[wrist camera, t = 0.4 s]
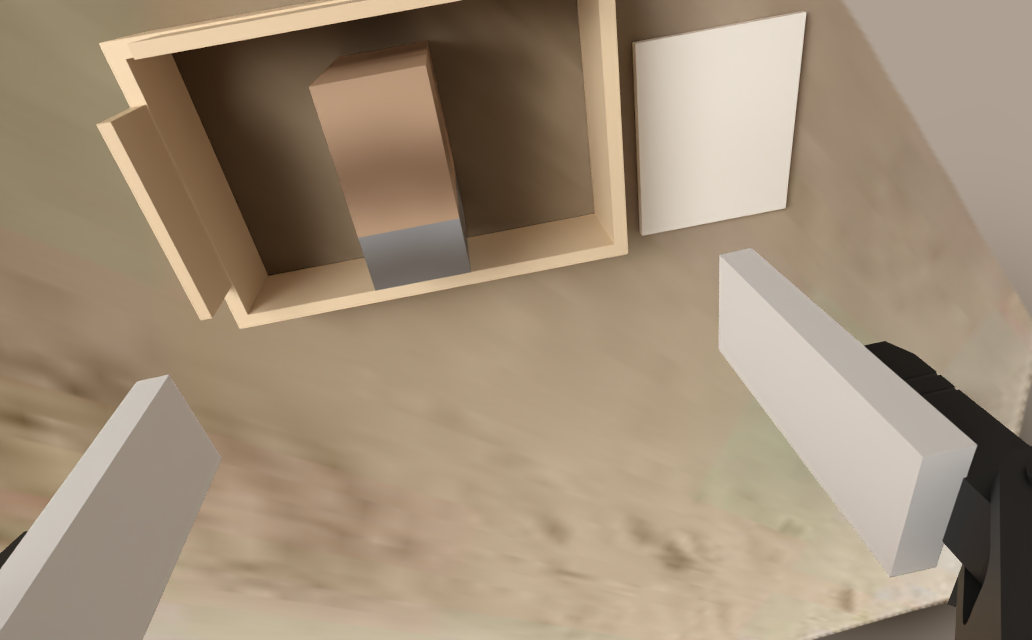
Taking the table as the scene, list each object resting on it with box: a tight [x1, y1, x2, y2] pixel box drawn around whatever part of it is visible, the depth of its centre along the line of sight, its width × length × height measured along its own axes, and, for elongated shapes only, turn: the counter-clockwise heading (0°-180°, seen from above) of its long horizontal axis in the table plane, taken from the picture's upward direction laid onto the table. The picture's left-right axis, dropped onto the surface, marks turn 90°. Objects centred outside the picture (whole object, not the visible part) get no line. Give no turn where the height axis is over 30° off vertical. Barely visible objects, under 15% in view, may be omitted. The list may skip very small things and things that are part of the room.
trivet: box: [632, 11, 806, 236], centre depth 36 cm, size 12×10×1 cm
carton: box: [96, 0, 628, 329], centre depth 31 cm, size 16×24×8 cm, turn 99°
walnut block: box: [309, 41, 471, 291], centre depth 31 cm, size 10×5×9 cm, turn 9°
